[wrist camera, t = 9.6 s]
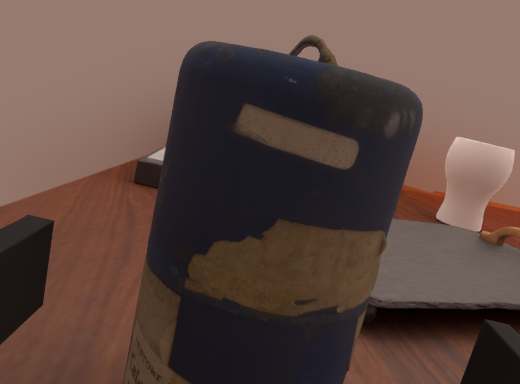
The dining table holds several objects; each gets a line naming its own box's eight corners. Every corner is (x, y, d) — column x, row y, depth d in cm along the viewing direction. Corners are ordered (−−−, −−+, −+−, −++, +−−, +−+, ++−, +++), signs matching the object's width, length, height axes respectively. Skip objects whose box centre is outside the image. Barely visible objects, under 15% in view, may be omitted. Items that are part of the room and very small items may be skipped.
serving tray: (469, 245, 69) (482, 206, 67) (639, 332, 48) (664, 278, 47) (229, 223, 52) (241, 171, 51) (335, 340, 32) (359, 259, 31)
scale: (133, 182, 60) (138, 155, 59) (159, 164, 74) (163, 143, 73) (238, 206, 61) (244, 180, 60) (244, 184, 74) (249, 162, 74)
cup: (467, 235, 76) (498, 146, 72) (415, 213, 84) (441, 132, 81) (500, 235, 82) (530, 154, 79) (449, 214, 90) (474, 140, 87)
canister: (310, 387, 26) (402, 70, 22) (329, 549, 17) (493, 56, 13) (146, 350, 26) (210, 24, 22) (76, 494, 17) (163, -22, 13)
